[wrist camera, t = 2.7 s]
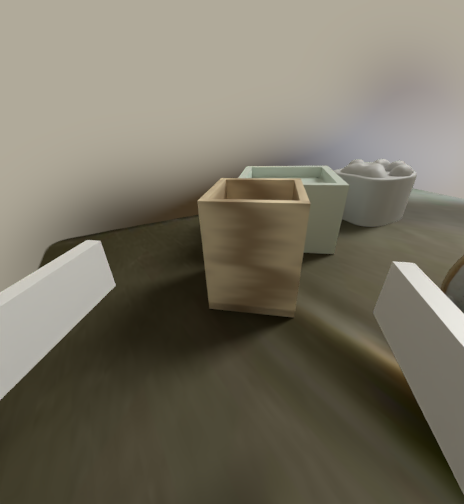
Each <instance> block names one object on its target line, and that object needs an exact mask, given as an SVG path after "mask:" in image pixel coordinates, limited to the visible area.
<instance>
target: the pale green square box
mask: <svg viewBox="0 0 464 504" xmlns="http://www.w3.org/2000/svg"><path fill="white" fill-rule="evenodd" d="M239 178H301V181H302V183H303V186H304V188H305V191H306V193H307V196H308V198H309V201H310V203H311V204H310V211H309V218H308V225H307V232H306V239H305V246H304V253H321V254H334V252H335V248H336V243H337V239H338V234H339V230H340V225H341V221H342V216H343V212H344V207H345V203H346V198H347V194H348V189H349V184H347V183H346V182H345V181H344V180H343V179H342V178H341V177H340V176H338V175H337V174H336V173H335V172H334V171H333V170H332V169H330V168H329V167H328V166H247V167H246V168H245V169H244V171H243V172H242V173H241V175H240V176H239Z"/></svg>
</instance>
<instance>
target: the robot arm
mask: <svg viewBox="0 0 464 504" xmlns="http://www.w3.org/2000/svg"><path fill="white" fill-rule="evenodd" d="M115 286H116V285H115V282H114V279H113V276H112V273H111V270H110V267H109V264H108V262H107V259H106V256H105V253H104V250H103V247H102V244H101V241H92V240H86V241H85V242H83V243H81V244H80V245H78V246H76V247H75V248H73V249H71V250H70V251H68V252H66V253H65V254H63V255H61V256H60V257H58V258H56V259H55V260H53V261H51V262H50V263H48V264H46V265H45V266H43V267H42V268H40V269H38V270H37V271H35V272H33V273H32V274H30V275H28V276H27V277H25V278H23V279H22V280H20V281H18V282H17V283H15V284H13V285H12V286H10V287H8V288H7V289H5V290H4V291H2V292H0V400H1V399H2V398H3V397H4V396H5V395H6V394H7V393H8V392H9V391H10V390H11V389H12V388H13V387H14V386H15V385H16V384H17V383H18V382H19V381H20V380H21V379H22V378H23V377H24V376H25V375H26V374H27V373H28V372H29V371H30V370H31V369H32V368H33V367H34V366H35V365H36V364H37V363H38V362H39V361H40V360H41V359H42V358H43V357H44V356H45V355H46V354H47V353H48V352H49V351H50V350H51V349H52V348H53V347H54V346H55V345H56V344H57V343H58V342H59V341H60V340H61V339H62V338H63V337H64V336H65V335H66V334H67V333H68V332H69V331H70V330H71V329H72V328H73V327H74V326H75V325H76V324H77V323H78V322H79V321H80V320H81V319H82V318H83V317H84V316H85V315H86V314H87V313H88V312H89V311H90V310H91V309H93V308H94V307H95V306H96V305H97V304H98V303H99V302H100V301H101V300H102V299H103V298H104V297H105V296H106V295H107V294H108V293H109V292H110V291H111V290H112V289H113V288H114V287H115ZM373 314H374V316H375V318H376V320H377V322H378V324H379V326H380V328H381V330H382V332H383V334H384V336H385V338H386V340H387V342H388V344H389V346H390V348H391V350H392V352H393V354H394V356H395V358H396V360H397V362H398V364H399V366H400V368H401V370H402V372H403V374H404V376H405V378H406V380H407V382H408V384H409V386H410V388H411V390H412V392H413V394H414V396H415V398H416V400H417V402H418V404H419V406H420V408H421V410H422V412H423V414H424V416H425V418H426V420H427V422H428V424H429V426H430V428H431V430H432V432H433V434H434V436H435V438H436V440H437V442H438V444H439V446H440V448H441V450H442V452H443V454H444V456H445V458H446V460H447V462H448V464H449V466H450V468H451V470H452V472H453V474H454V476H455V478H456V480H457V482H458V484H459V486H460V488H461V490H462V492H463V494H464V313H463V312H462V311H461V310H460V309H459V308H458V307H457V306H456V305H455V304H454V303H453V302H452V301H451V300H450V299H449V298H448V297H447V296H446V295H445V294H444V293H443V292H442V291H441V290H440V289H439V288H438V287H437V286H436V285H435V284H434V283H433V282H432V281H431V280H430V279H429V278H428V277H427V276H426V275H425V274H424V273H423V271H422V270H421V269H420V268H419V267H418V266H417V265H416V264H415V263H407V262H392V265H391V267H390V270H389V272H388V275H387V277H386V280H385V282H384V285H383V288H382V290H381V293H380V295H379V298H378V300H377V303H376V305H375V308H374V311H373Z"/></svg>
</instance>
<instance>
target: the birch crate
mask: <svg viewBox="0 0 464 504" xmlns="http://www.w3.org/2000/svg"><path fill="white" fill-rule="evenodd" d="M310 204H311V203H310V201H309V198H308V196H307V193H306V191H305V188H304V186H303V183H302V181H301V178H221V179H220V180H219V181H218V182H217V183H216V184H215V185H214V186H213V187H211V188H210V190H208V192H206V193H205V194H204V195H203V196H202V197H201V198H200V199H199V200H198V210H199V219H200V228H201V237H202V247H203V256H204V265H205V274H206V283H207V292H208V301H209V309H218V310H227V311H237V312H246V313H256V314H265V315H274V316H284V317H293V318H294V315H295V308H296V301H297V294H298V287H299V280H300V273H301V266H302V260H303V253H304V246H305V239H306V232H307V225H308V218H309V211H310Z"/></svg>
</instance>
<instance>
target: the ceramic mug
mask: <svg viewBox="0 0 464 504" xmlns="http://www.w3.org/2000/svg"><path fill="white" fill-rule="evenodd" d="M441 291H442V292H443V293H444V294H445V295H446V296H447V297H448V298H449V299H450V300H451V301H452V302H453V303H454V304H455V305H456V306H457V307H458V308H459V309H460V310H461V311H462V312H463V313H464V255H463V256H462V257H461V258H460V259H459V260H458V261H457V262H456V263H455V264H454V265H453V266H452V268H451V269H450V270H449V272H448V273H447V275H446V277H445V279H444V281H443V283H442V286H441Z"/></svg>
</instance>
